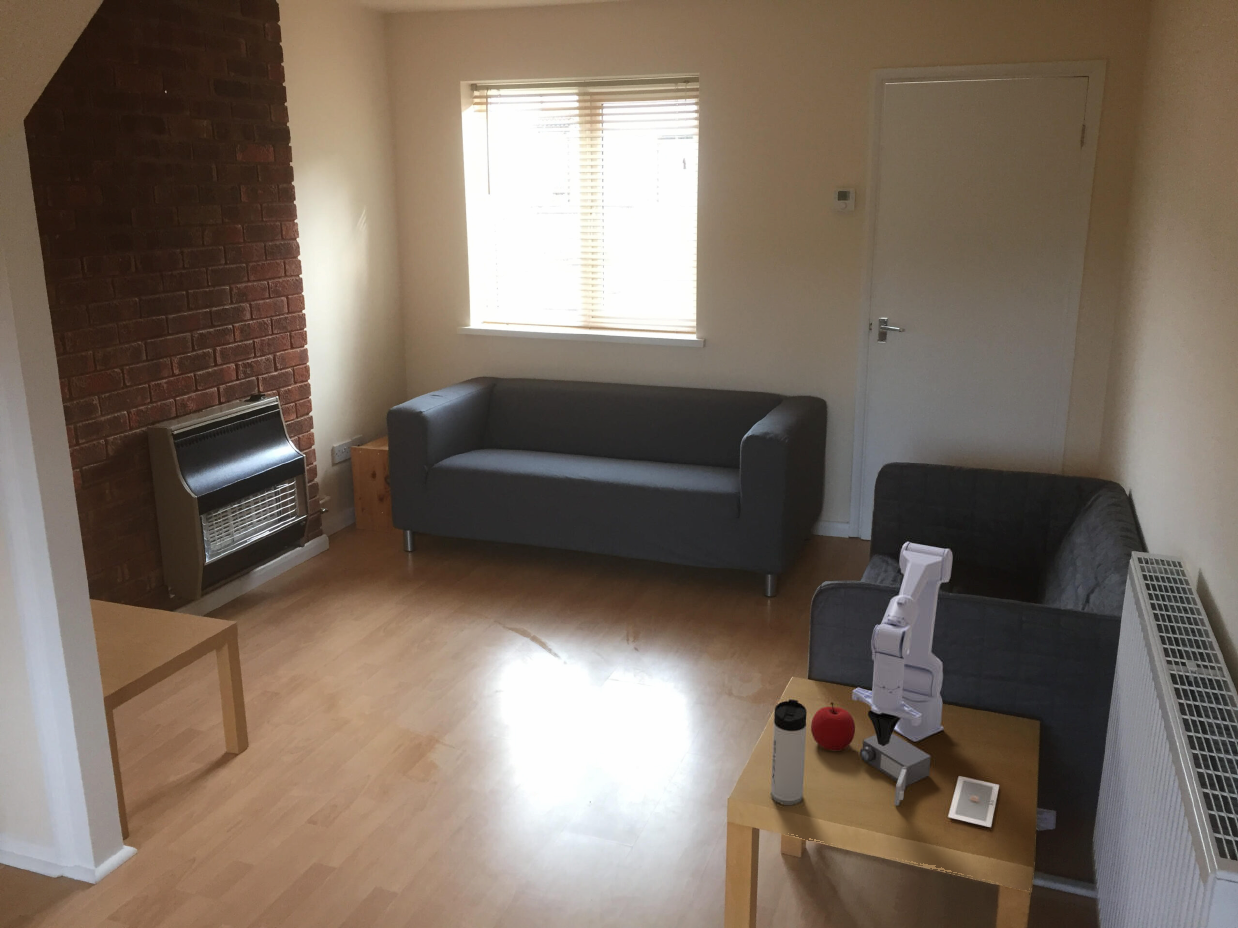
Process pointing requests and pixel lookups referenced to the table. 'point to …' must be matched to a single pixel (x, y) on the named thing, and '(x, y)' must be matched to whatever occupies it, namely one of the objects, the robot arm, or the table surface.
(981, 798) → the touchpad
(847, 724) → the apple
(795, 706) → the travel mug
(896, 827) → the table surface
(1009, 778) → the table surface
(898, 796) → the door
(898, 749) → the camera body
